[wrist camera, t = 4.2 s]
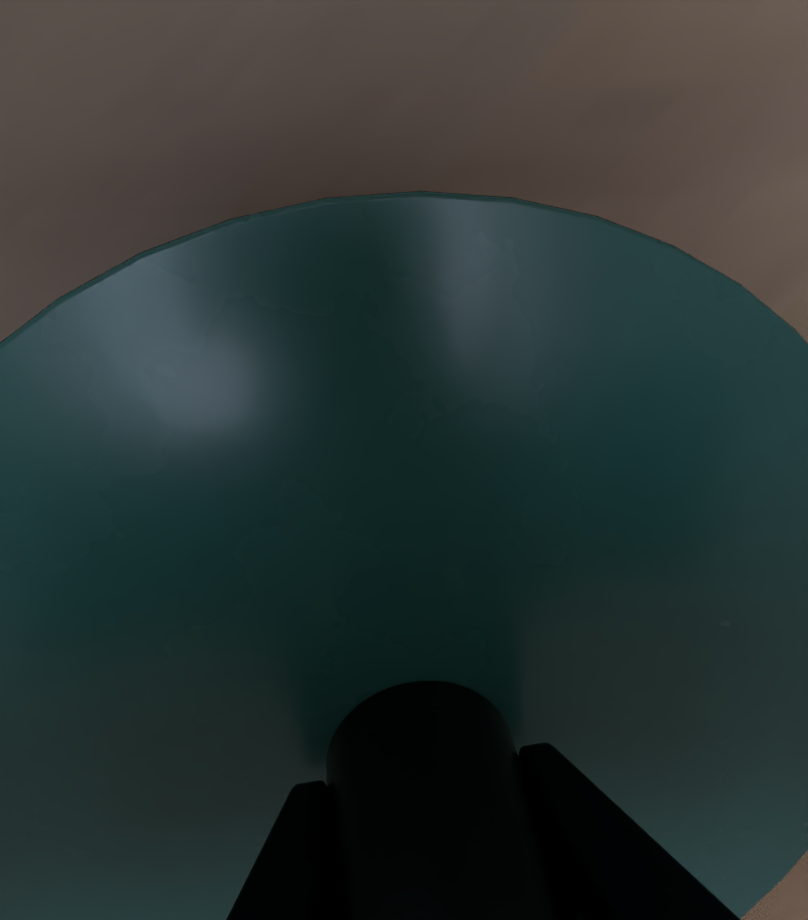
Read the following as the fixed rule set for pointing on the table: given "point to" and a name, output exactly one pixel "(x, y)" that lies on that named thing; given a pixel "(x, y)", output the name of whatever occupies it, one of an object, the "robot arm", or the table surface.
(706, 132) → the table surface
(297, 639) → the pot lid
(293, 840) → the robot arm
